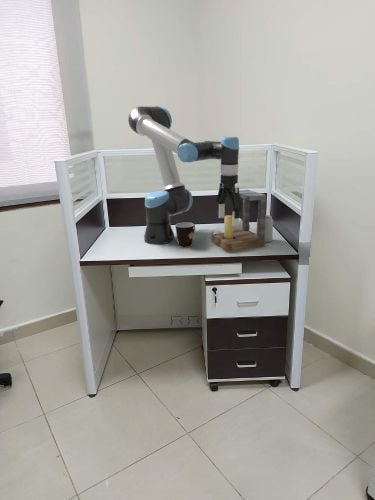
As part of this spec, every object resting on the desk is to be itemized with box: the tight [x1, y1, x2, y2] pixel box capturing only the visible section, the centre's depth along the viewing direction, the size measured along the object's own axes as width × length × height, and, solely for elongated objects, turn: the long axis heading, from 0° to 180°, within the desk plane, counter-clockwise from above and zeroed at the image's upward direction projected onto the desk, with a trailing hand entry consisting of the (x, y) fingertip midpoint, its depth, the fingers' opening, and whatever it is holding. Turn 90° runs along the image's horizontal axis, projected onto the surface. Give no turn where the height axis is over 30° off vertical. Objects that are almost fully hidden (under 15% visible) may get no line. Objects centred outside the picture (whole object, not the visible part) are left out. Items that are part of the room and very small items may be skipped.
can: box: [256, 214, 274, 244], centre depth 165 cm, size 8×8×12 cm
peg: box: [223, 214, 233, 240], centre depth 160 cm, size 4×4×14 cm
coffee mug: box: [175, 221, 196, 248], centre depth 164 cm, size 12×9×10 cm
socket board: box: [211, 189, 267, 253], centre depth 160 cm, size 16×19×24 cm
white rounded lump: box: [233, 217, 251, 231], centre depth 178 cm, size 9×9×12 cm
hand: (228, 221), depth 158 cm, fingers open, 13 cm apart
